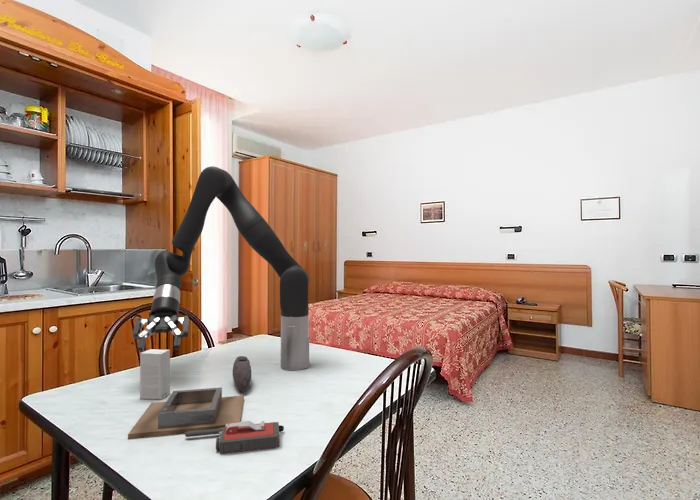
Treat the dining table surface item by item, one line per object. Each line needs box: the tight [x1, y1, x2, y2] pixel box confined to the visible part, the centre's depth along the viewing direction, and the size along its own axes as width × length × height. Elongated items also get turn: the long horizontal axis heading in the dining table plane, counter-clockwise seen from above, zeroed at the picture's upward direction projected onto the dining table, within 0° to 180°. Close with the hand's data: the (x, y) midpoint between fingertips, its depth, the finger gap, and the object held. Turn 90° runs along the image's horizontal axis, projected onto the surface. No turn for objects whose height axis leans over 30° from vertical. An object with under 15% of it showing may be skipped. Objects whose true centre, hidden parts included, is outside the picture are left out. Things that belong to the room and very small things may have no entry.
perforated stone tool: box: [232, 355, 252, 393], centre depth 106 cm, size 15×5×7 cm, turn 17°
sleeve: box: [158, 386, 223, 429], centre depth 86 cm, size 11×13×3 cm
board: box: [127, 395, 245, 440], centre depth 86 cm, size 22×16×1 cm
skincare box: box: [139, 348, 171, 400], centre depth 98 cm, size 6×4×12 cm
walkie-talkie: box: [184, 420, 285, 455], centre depth 75 cm, size 9×4×20 cm
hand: (158, 349), depth 103 cm, fingers open, 8 cm apart
